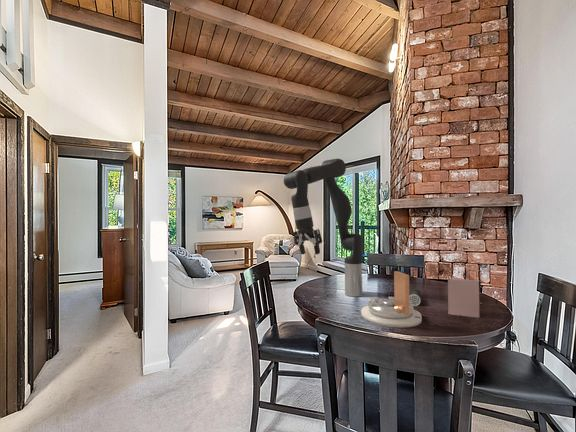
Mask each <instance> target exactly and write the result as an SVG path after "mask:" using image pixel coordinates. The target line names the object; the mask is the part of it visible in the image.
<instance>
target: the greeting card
mask: <svg viewBox="0 0 576 432" xmlns="http://www.w3.org/2000/svg"><path fill="white" fill-rule="evenodd" d="M447 296H448V299H447V301H448V303H447V306H448V307H447V308H448V309H447V310H448V312H447V313H448V315H450V314H451V315H453V316H460V315H461V316H462V317H468V318H470V317H471V318H477V319H478V318H480V281H477V280H471V279H465V278H460V277H455V276H454V277H453V276H451V279H447Z"/></svg>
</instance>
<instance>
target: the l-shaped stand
mask: <svg viewBox="0 0 576 432" xmlns="http://www.w3.org/2000/svg"><path fill="white" fill-rule="evenodd" d="M393 281H394V282H393V285H394V286H393V287H394V288H393V289H394V291H393V292H394V293H393V295H394V296H388V298H378V297H374V296H373V297H371V298H370V300H369V301H368V302H367V304H368V305H367V306H368V310H369V312H370V313H371V314H373V315H376V316H379V317H383V318H389V319H405V318H410V317H412V316H413V315H414V310H415V309H414V305H412V302H411V301H409V295H410V274H406V273H404V272H402V271H398V270H397V271H396V270H394V271H393Z"/></svg>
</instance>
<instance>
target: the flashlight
mask: <svg viewBox="0 0 576 432" xmlns="http://www.w3.org/2000/svg"><path fill="white" fill-rule="evenodd" d="M421 296H422V293H421V291H420V289H418V288H412V289H410V290H409V301H411V302H412V305H413V307H414V306H415V307H416V306H419V305H420V304H421Z"/></svg>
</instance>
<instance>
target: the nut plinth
mask: <svg viewBox="0 0 576 432" xmlns="http://www.w3.org/2000/svg"><path fill="white" fill-rule="evenodd" d="M360 310H361V311H360V312H361V313H360V315H361V318H362V319H363V320H365V321H366V322H368V323H371V324H374V325H377V326H381V327H387V328H393V329H394V328H395V329H396V328H399V329H400V328H401V329H402V328H412V327H417V326H418V325H420V324H422V322H423V321H422V314H421V313H420V312H419V311H418V310H416V309H414V315H413V316H412V317H410V318H405V319H389V318H383V317H379V316H376V315H373V314H371V313H370V312H369V310H368V305H365V306H363V307H362V308H361V309H360Z"/></svg>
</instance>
